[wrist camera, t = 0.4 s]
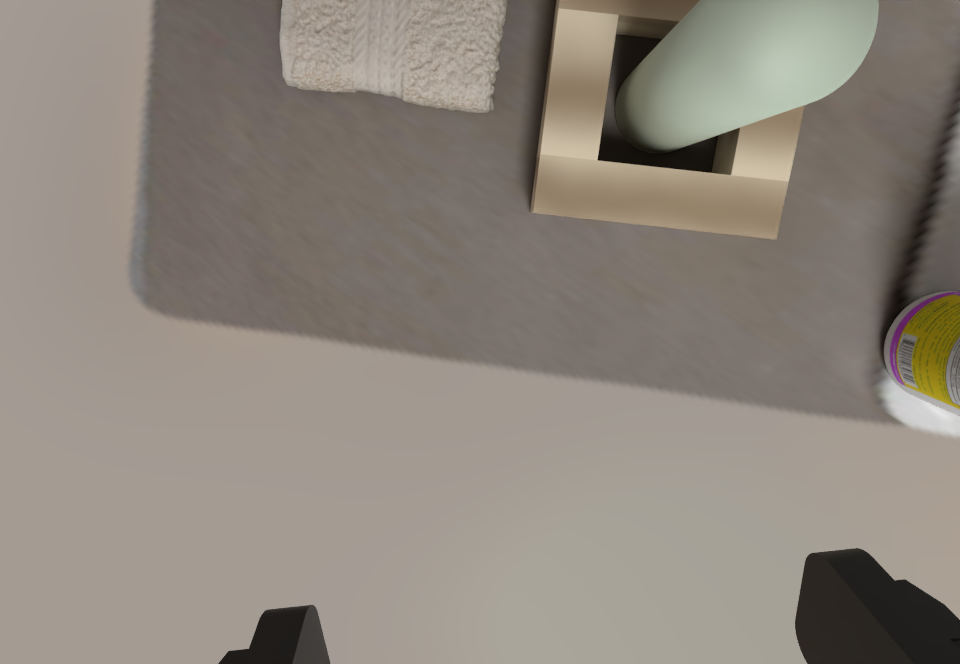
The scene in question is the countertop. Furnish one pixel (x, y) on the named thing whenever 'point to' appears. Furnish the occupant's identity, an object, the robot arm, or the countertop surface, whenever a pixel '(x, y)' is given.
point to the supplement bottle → (927, 350)
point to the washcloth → (396, 49)
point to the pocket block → (637, 188)
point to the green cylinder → (741, 67)
